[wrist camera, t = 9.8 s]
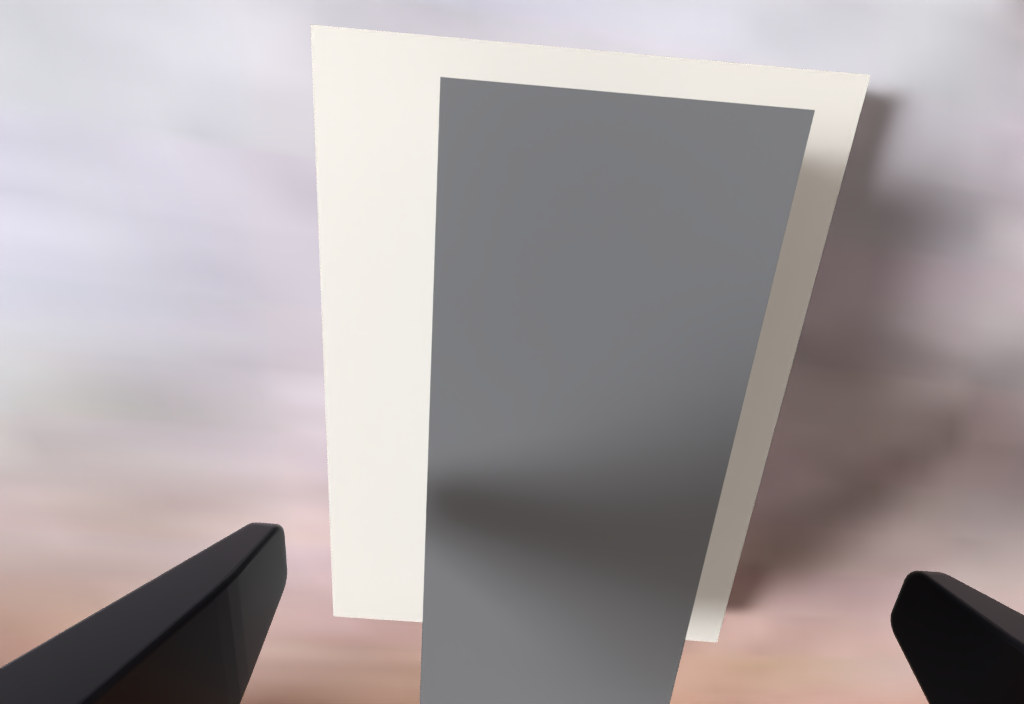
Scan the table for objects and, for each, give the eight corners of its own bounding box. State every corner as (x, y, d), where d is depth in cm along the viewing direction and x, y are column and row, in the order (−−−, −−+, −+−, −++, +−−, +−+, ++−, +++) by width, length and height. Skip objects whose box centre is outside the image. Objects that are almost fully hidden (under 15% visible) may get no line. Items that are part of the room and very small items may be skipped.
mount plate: (701, 605, 18) (758, 739, 14) (347, 580, 18) (295, 710, 14) (831, 85, 13) (989, 43, 9) (334, 41, 13) (240, -26, 8)
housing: (611, 595, 16) (652, 774, 11) (446, 584, 16) (418, 759, 11) (694, 134, 12) (814, 110, 7) (470, 114, 12) (440, 77, 7)
